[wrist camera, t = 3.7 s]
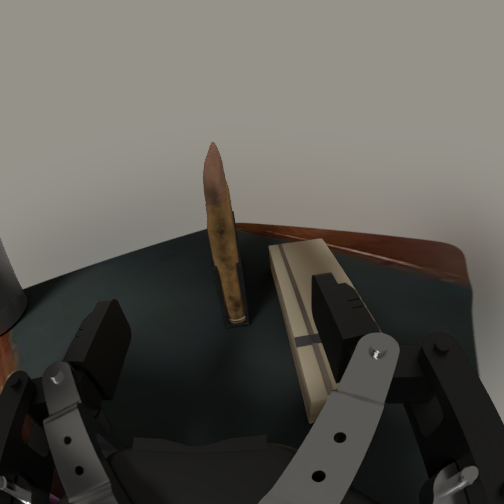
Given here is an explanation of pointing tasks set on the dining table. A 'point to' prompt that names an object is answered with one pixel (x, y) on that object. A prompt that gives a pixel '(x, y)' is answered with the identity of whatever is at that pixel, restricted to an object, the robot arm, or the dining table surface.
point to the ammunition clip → (224, 243)
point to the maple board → (305, 314)
